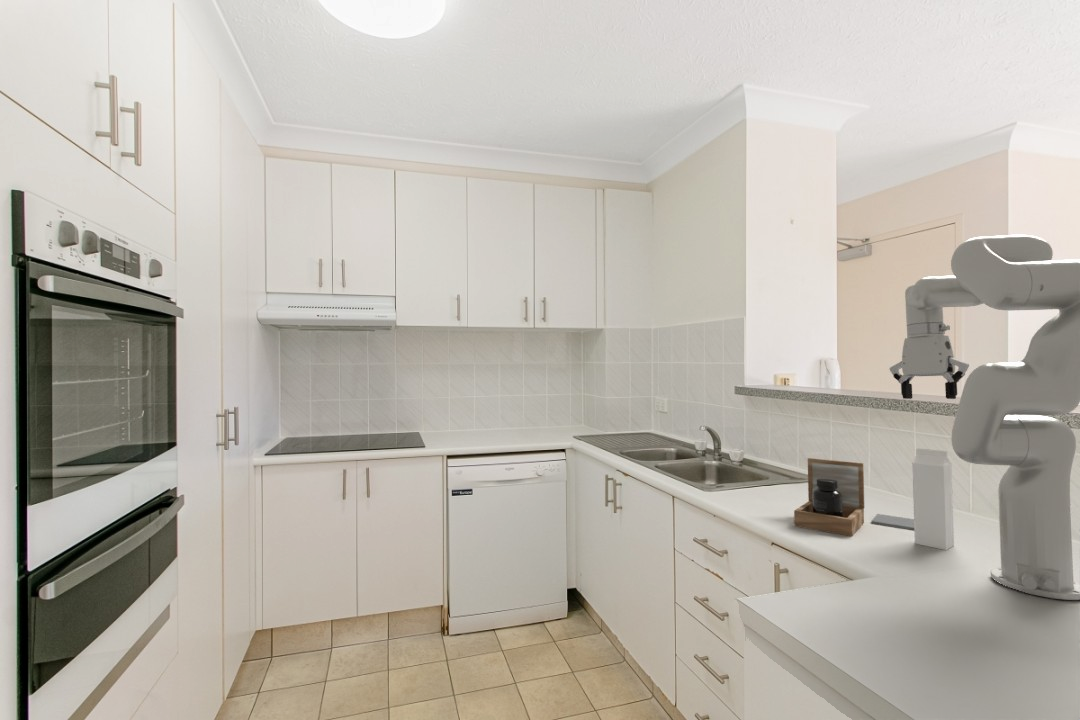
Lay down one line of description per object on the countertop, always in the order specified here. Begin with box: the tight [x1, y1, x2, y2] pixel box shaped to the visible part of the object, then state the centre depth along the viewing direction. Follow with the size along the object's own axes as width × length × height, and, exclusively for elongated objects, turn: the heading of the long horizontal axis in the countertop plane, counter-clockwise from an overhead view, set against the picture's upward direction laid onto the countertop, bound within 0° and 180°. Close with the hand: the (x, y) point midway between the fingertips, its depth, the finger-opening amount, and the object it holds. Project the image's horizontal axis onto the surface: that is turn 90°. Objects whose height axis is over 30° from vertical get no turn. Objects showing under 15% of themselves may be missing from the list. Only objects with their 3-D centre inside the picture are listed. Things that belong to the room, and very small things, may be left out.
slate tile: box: [870, 513, 914, 531], centre depth 134 cm, size 10×10×1 cm
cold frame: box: [793, 457, 865, 537], centre depth 133 cm, size 16×13×16 cm
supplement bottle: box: [813, 479, 843, 517], centre depth 131 cm, size 7×7×12 cm
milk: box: [911, 448, 955, 551], centre depth 117 cm, size 6×6×22 cm
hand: (928, 398), depth 126 cm, fingers open, 9 cm apart
